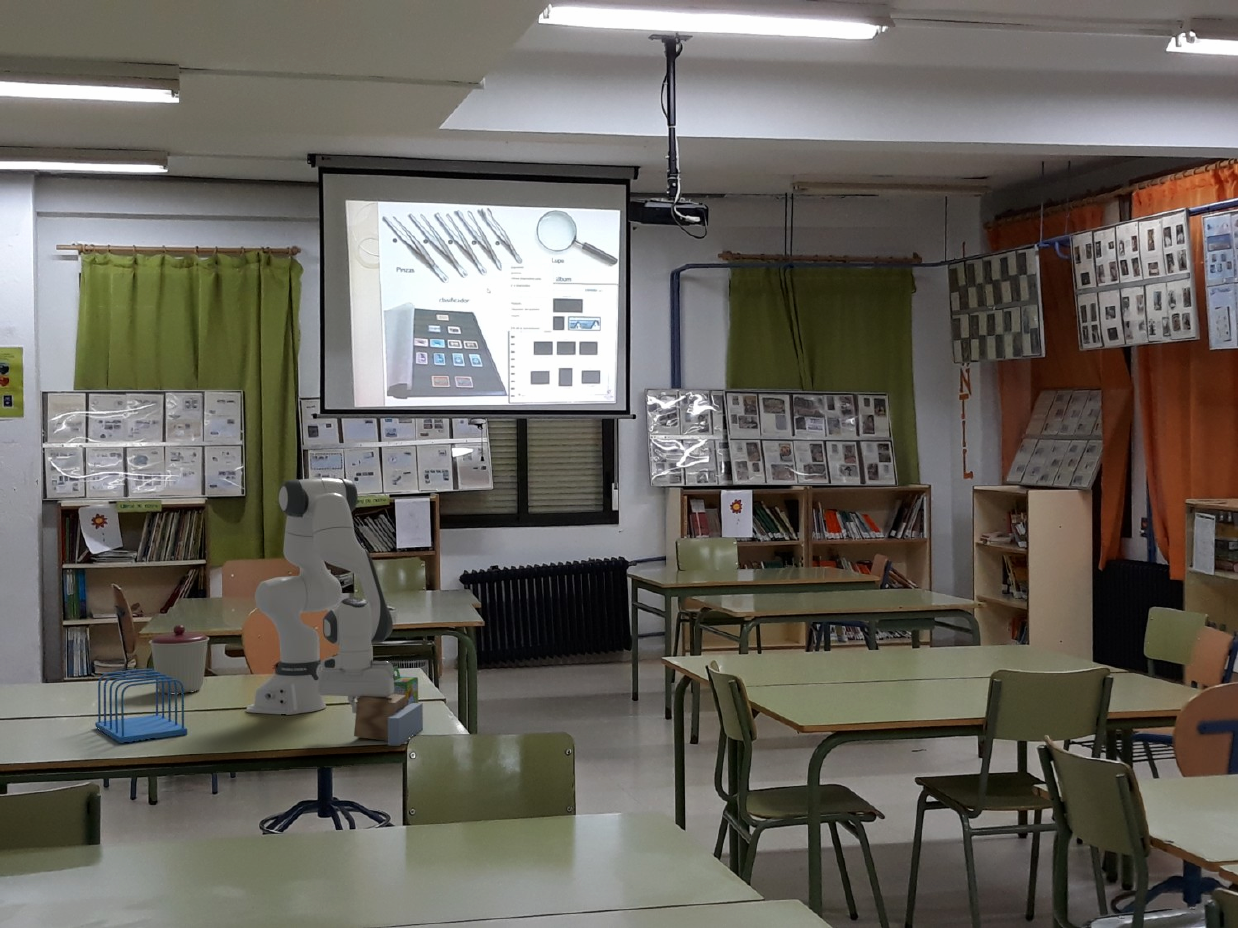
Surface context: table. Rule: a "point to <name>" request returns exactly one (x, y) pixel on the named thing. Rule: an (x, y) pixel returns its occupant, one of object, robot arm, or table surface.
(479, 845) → the table surface
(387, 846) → the table surface
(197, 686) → the canister
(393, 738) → the board
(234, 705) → the table surface
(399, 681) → the chalk box
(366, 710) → the walnut cube
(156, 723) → the file sorter
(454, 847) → the table surface
